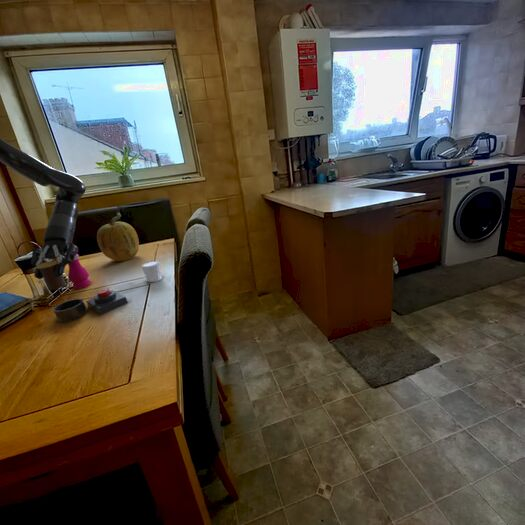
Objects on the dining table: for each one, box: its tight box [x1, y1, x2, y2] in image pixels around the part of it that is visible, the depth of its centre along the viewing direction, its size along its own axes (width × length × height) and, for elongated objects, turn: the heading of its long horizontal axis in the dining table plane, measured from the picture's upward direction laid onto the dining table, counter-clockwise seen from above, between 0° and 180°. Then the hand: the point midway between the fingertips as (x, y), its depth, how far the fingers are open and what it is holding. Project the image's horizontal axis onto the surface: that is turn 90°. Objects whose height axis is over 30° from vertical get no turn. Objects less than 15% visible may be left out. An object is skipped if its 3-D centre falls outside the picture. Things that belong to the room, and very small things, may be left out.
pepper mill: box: [67, 249, 92, 290], centre depth 115 cm, size 7×7×20 cm
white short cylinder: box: [141, 260, 162, 283], centre depth 114 cm, size 7×7×7 cm
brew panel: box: [86, 289, 129, 315], centre depth 97 cm, size 9×11×4 cm
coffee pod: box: [35, 259, 67, 291], centre depth 88 cm, size 6×6×8 cm
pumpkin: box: [96, 212, 140, 262], centre depth 145 cm, size 19×19×25 cm
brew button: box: [97, 288, 110, 298], centre depth 96 cm, size 4×4×2 cm
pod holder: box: [52, 298, 88, 323], centre depth 92 cm, size 8×8×4 cm
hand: (48, 276), depth 86 cm, fingers closed on coffee pod, 5 cm apart
